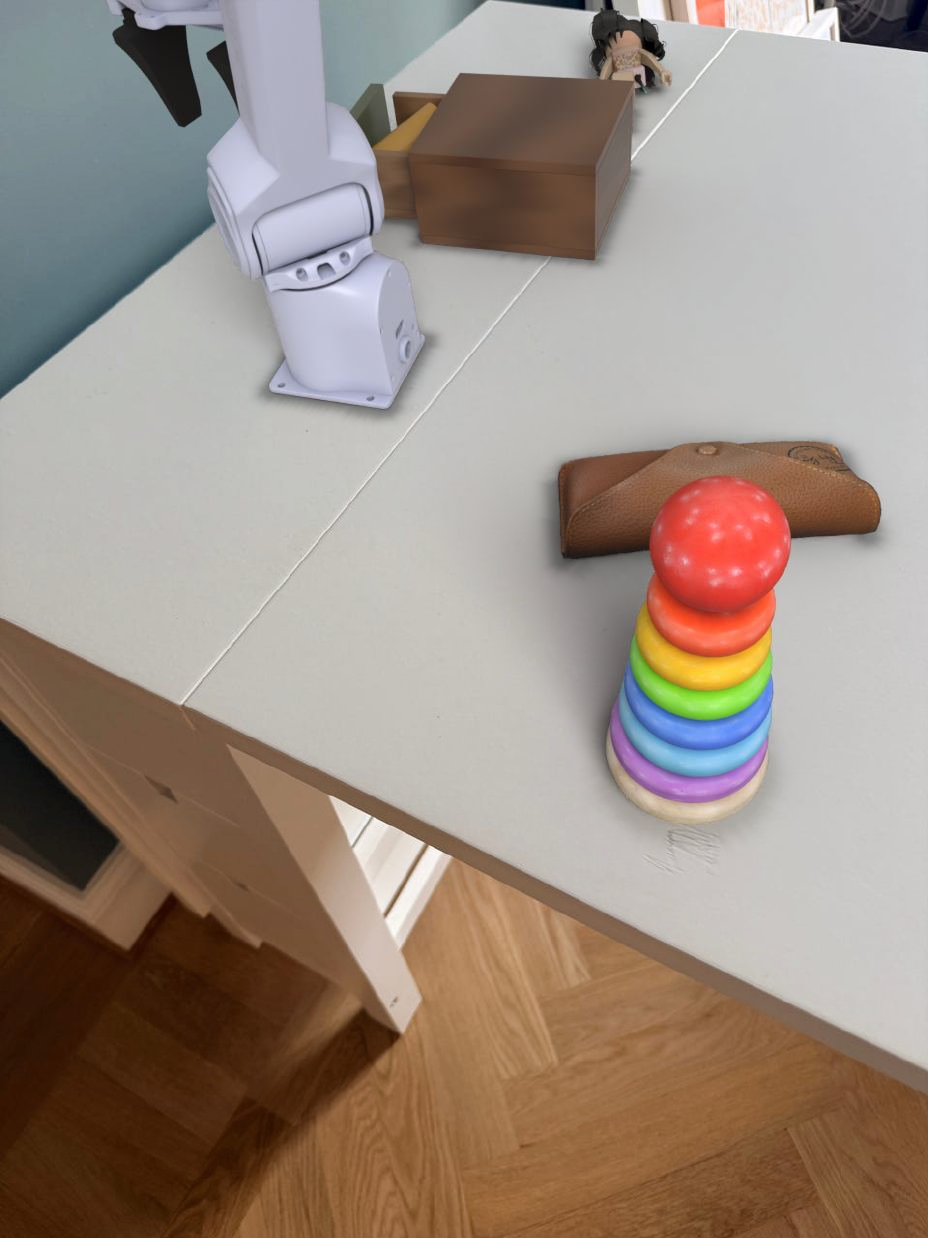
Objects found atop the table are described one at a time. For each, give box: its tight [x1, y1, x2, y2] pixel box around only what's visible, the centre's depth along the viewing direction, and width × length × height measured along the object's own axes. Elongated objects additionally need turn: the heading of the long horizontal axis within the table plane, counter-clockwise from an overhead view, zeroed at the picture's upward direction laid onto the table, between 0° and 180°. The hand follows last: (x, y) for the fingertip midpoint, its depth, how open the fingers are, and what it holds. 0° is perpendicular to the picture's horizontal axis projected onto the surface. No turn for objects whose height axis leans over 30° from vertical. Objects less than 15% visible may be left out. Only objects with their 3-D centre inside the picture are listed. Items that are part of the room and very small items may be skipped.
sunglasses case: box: [557, 440, 882, 560], centre depth 55 cm, size 18×7×7 cm
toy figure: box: [588, 7, 673, 130], centre depth 85 cm, size 7×6×15 cm
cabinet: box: [407, 72, 635, 261], centre depth 75 cm, size 15×13×8 cm
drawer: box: [348, 82, 446, 221], centre depth 78 cm, size 18×11×6 cm, turn 71°
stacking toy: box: [605, 476, 792, 825], centre depth 40 cm, size 8×8×19 cm
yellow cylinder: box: [371, 103, 437, 152], centre depth 78 cm, size 3×6×3 cm
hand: (226, 130), depth 70 cm, fingers open, 7 cm apart
